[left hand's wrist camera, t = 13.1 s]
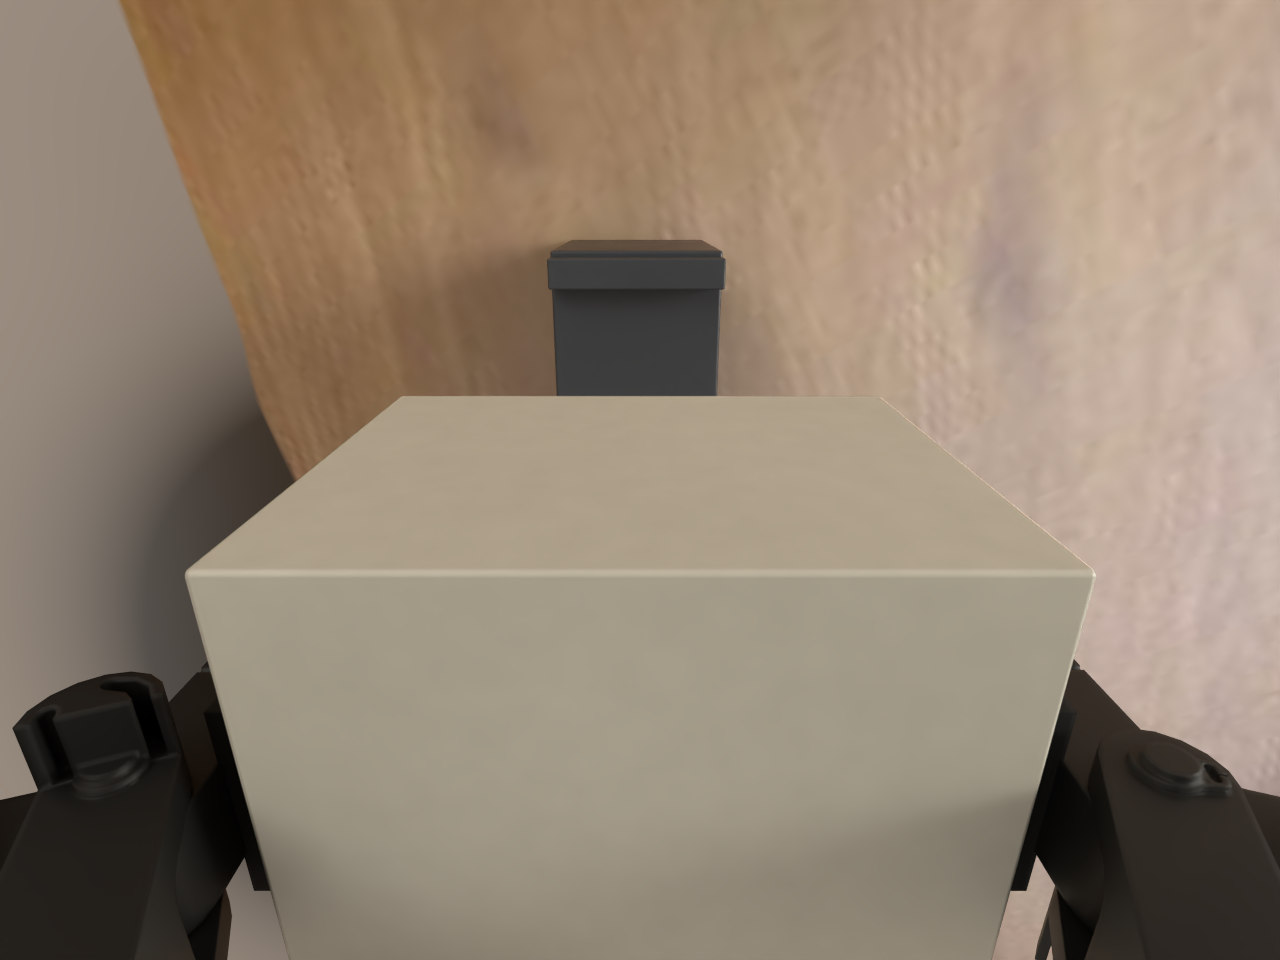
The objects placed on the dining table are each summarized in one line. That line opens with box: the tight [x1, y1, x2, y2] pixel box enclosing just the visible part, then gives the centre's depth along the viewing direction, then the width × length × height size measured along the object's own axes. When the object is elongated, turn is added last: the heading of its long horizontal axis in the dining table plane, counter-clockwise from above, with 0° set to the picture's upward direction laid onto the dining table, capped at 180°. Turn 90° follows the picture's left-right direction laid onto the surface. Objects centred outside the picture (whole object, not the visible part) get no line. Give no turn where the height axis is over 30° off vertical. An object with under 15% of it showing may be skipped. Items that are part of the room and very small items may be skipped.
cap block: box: [185, 396, 1096, 960], centre depth 10 cm, size 7×8×6 cm
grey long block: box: [547, 240, 726, 396], centre depth 33 cm, size 30×6×9 cm, turn 0°
